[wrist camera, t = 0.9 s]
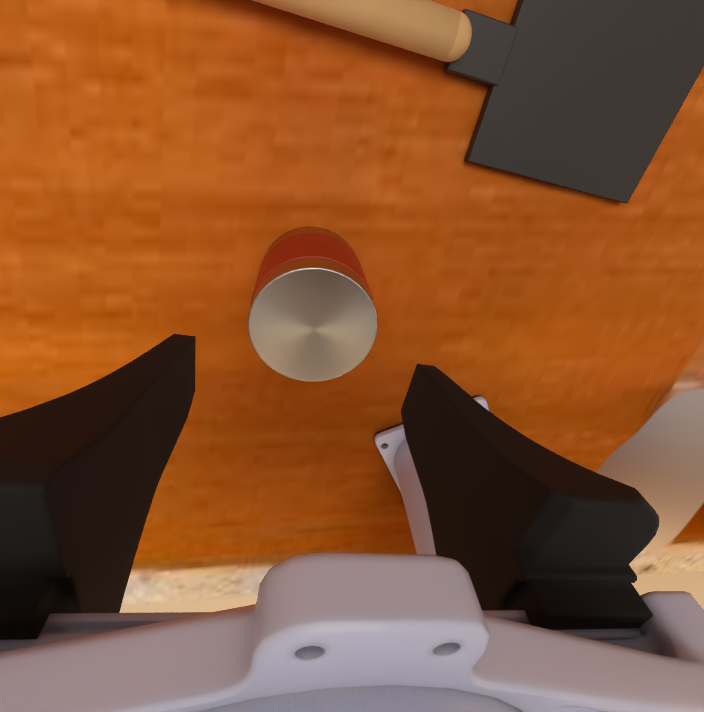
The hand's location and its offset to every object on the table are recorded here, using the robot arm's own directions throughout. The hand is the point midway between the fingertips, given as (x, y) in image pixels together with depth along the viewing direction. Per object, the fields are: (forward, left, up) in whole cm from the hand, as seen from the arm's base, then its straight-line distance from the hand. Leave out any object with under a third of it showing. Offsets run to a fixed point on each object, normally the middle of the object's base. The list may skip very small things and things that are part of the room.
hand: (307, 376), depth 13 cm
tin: (0, 0, -9) cm, 9 cm away
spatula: (+7, -9, -9) cm, 15 cm away
